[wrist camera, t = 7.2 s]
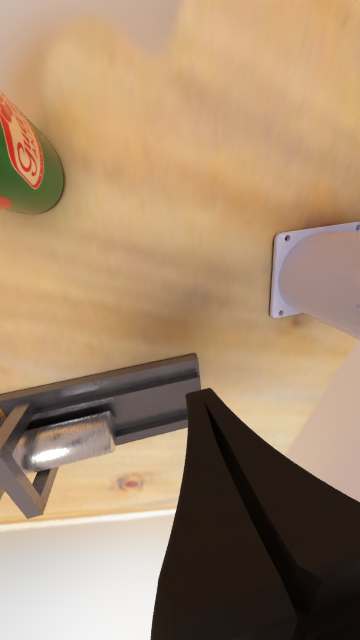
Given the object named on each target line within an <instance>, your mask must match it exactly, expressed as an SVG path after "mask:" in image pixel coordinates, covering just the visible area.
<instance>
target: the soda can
mask: <svg viewBox="0 0 360 640" xmlns="http://www.w3.org/2000/svg"><path fill="white" fill-rule="evenodd" d="M62 189H63V170H62V166H61V163H60V160H59V157H58V155H57V153H56V151H55V150H54V148H53V146H52V145H51V144H50V142H49V141H48V140H47V138H46V137H45V136H44V135H43V134H42V133H41V132H40V131H39V130H38V129H37V128H36V127H35V126H34V125H33V124H32V123H31V122H30V121H29V120H28V119H27V118H26V117H25V116H24V115H23V114H22V113H21V111H20V110H19V109H17V107H15V105H14V104H13V103H11V101H10V100H9V99H8V98H7V97H6V96H5V95H4V94H3V93H2V92H1V91H0V210H6V211H12V212H18V213H24V214H37V213H41V212H44V211H46V210H48V209H50V208H51V207H52V206H54V204H55V203H56V202H57V201H58V199H59V197H60V195H61V192H62Z"/></svg>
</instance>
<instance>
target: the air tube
mask: <svg viewBox="0 0 360 640" xmlns="http://www.w3.org/2000/svg"><path fill="white" fill-rule="evenodd" d="M115 447H116V426H115V420H114V416H113V414H112V412H111V411H107V412H103V413H98V414H94V415H90V416H86V417H81V418H77V419H73V420H68V421H64V422H60V423H56V424H51V425H47V426H43V427H38V428H34V429H30V430H26V431H25V432H24V434H23V435H22V437H21V439H20V441H19V443H18V444H17V446H16V448H15V450H14V451H13V453H12V456H13V458H14V459H15V461H16V462H17V464H18V465H19V467H20V468H21V469H22V471H23V472H24V474H25V475H27V474H31V473H35V472H39V471H43V470H46V469H50V468H54V467H58V466H62V465H66V464H70V463H74V462H78V461H81V460H85V459H89V458H93V457H97V456H101V455H105V454H109V453H112V452H114V450H115Z"/></svg>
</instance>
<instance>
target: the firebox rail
mask: <svg viewBox="0 0 360 640" xmlns="http://www.w3.org/2000/svg"><path fill="white" fill-rule="evenodd" d="M199 390H201V385H200V375H199V365H198V358H197V356H196V354H190V355H186V356H181V357H176V358H171V359H167V360H162V361H157V362H152V363H148V364H143V365H138V366H133V367H129V368H124V369H119V370H114V371H110V372H105V373H100V374H95V375H91V376H86V377H81V378H76V379H72V380H67V381H62V382H57V383H53V384H48V385H43V386H38V387H34V388H29V389H24V390H19V391H15V392H10V393H5V394H0V499H1V497H2V495H3V493H4V491H6V493H7V494H8V495H9V496H10V498H11V499H12V500H13V501H14V503H15V504H16V505H17V506H18V508H19V509H20V510H21V511H22V513H23V514H24V515H25V516H26V518H27V519H29V518H32V517H36V516H39V515H43V512H44V509H45V506H46V503H47V500H48V497H49V494H50V491H51V488H52V485H53V482H54V479H55V476H56V473H57V470H58V467H59V466H58V467H54V468H50V469H46V470H43V471H39V472H37V475H36V477H35V479H34V482H33V484H31V482H30V481H29V479H28V478H27V477H26V475H25V474H24V472H23V471H22V469H21V468H20V467H19V465H18V464H17V462H16V461H15V459H14V458H13V456H12V453H13V451H14V450H15V448H16V446H17V444H18V443H19V441H20V439H21V437H22V435H23V434H24V432H25V431H26V430H30V429H34V428H38V427H43V426H47V425H51V424H56V423H60V422H64V421H68V420H73V419H77V418H81V417H86V416H90V415H94V414H98V413H103V412H107V411H111V412H112V414H113V416H114V420H115V426H116V446H117V445H121V444H125V443H128V442H132V441H136V440H140V439H144V438H148V437H152V436H156V435H160V434H164V433H168V432H172V431H176V430H180V429H184V428H187V427H188V412H187V405H186V398H185V395H186V394H187V393H190V392H194V391H199Z"/></svg>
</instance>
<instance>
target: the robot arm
mask: <svg viewBox="0 0 360 640" xmlns="http://www.w3.org/2000/svg"><path fill="white" fill-rule="evenodd" d="M356 226H357V228H356ZM286 236H287V240H286V241H285V237H286ZM280 311H281V313H280V314H279V312H280ZM300 313H305V314H307V315H309V316H312V317H314V318H316V319H318V320H320V321H322V322H324V323H326V324H328V325H330V326H332V327H334V328H336V329H338V330H340V331H343V332H345V333H347V334H349V335H351V336H353V337H355V338H357V339H359V340H360V221H358V222H352V223H345V224H338V225H331V226H324V227H317V228H310V229H303V230H296V231H289V232H282V233H278V234H277V235H276V237H275V240H274V256H273V272H272V289H271V305H270V316H271V317H273V318H280V317H285V316H290V315H295V314H300ZM185 398H186V405H187V412H188V437H187V449H186V458H185V466H184V472H183V478H182V484H181V490H180V495H179V500H178V505H177V509H176V513H175V518H174V522H173V526H172V531H171V535H170V539H169V543H168V546H167V550H166V554H165V557H164V561H163V564H162V568H161V572H160V575H159V579H158V587H157V593H156V600H155V606H154V613H153V621H152V630H151V640H360V502H358V501H356V500H354V499H353V498H351V497H349V496H347V495H346V494H344V493H342V492H340V491H338V490H337V489H335V488H333V487H332V486H330V485H328V484H327V483H325V482H323V481H322V480H320V479H318V478H317V477H315V476H314V475H312V474H311V473H309V472H308V471H306V470H305V469H303V468H301V467H300V466H299V465H297V464H295V463H294V462H293V461H291V460H290V459H288V458H287V457H285V456H284V455H283V454H281V453H280V452H279V451H277V450H276V449H275V448H273V447H272V446H271V445H269V444H268V443H267V442H266V441H264V440H263V439H262V438H261V437H259V436H258V435H257V434H256V433H255V432H254V431H252V430H251V429H250V428H249V427H248V426H247V425H246V424H245V423H244V422H242V421H241V420H240V419H239V418H238V417H237V416H236V415H235V414H234V413H233V412H232V411H231V410H230V409H229V408H228V407H227V406H226V405H225V404H224V402H223V401H222V400H221V399H220V398H219V397H218V396H217V395H216V393H215V392H214V391H213V390H212V389H211V388H207V389H203V390H199V391H194V392H190V393H187V394H186V395H185Z"/></svg>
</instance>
